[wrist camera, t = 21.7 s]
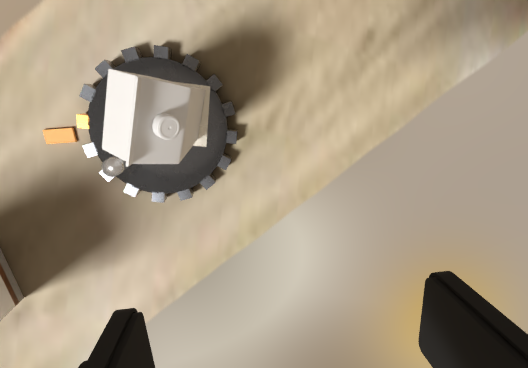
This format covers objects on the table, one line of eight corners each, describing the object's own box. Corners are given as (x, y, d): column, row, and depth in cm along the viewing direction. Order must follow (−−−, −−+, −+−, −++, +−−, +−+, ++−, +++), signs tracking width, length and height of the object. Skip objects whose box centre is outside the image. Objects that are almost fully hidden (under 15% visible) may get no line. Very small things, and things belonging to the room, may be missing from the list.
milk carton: (146, 129, 42) (80, 157, 24) (152, 76, 40) (86, 64, 22) (197, 140, 43) (171, 175, 25) (206, 89, 41) (184, 87, 23)
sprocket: (265, 139, 46) (270, 146, 40) (160, 223, 48) (150, 242, 42) (165, 11, 40) (152, -3, 34) (49, 116, 42) (18, 120, 36)
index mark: (73, 127, 43) (71, 127, 43) (77, 141, 44) (75, 141, 43) (44, 129, 43) (42, 130, 42) (48, 143, 44) (46, 144, 43)
